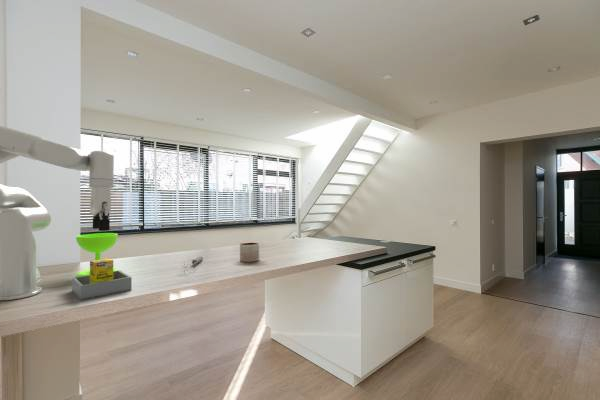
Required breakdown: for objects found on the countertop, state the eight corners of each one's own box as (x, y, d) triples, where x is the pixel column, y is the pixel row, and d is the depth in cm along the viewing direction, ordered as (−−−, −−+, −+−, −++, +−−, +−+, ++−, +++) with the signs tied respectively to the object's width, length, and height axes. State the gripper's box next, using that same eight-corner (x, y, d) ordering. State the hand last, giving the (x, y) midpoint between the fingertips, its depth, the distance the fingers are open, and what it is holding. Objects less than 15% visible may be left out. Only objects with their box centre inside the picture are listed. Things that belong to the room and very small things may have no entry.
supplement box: (95, 292, 104) (95, 262, 104) (89, 289, 108) (89, 260, 108) (113, 288, 109) (113, 259, 109) (107, 285, 113) (107, 258, 113)
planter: (263, 259, 164) (263, 243, 164) (250, 263, 155) (250, 245, 155) (248, 257, 170) (248, 241, 170) (235, 261, 161) (235, 244, 161)
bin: (80, 300, 98) (80, 286, 98) (72, 290, 109) (72, 277, 109) (131, 290, 109) (131, 277, 109) (119, 282, 120) (119, 270, 120)
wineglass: (109, 268, 145) (109, 232, 145) (124, 272, 136) (124, 234, 136) (70, 274, 132) (70, 235, 132) (83, 280, 123) (83, 238, 123)
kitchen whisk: (206, 259, 166) (206, 248, 166) (192, 275, 133) (192, 261, 133) (196, 259, 166) (195, 249, 166) (178, 275, 132) (178, 262, 132)
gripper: (84, 184, 112) (83, 228, 112) (94, 183, 100) (94, 232, 100) (107, 185, 118) (106, 227, 118) (119, 184, 106) (118, 230, 106)
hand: (100, 229), depth 109 cm, fingers open, 9 cm apart
